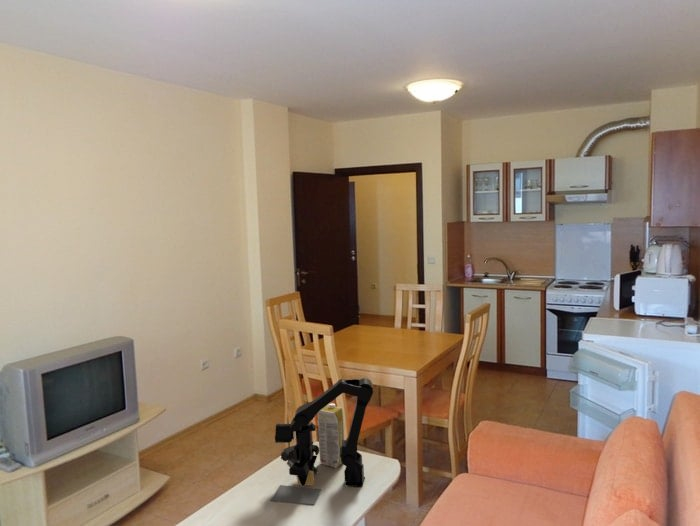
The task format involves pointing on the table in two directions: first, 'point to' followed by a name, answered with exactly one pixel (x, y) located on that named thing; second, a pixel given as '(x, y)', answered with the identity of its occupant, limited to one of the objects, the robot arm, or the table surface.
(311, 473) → the ochre block
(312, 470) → the phone
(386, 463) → the table surface
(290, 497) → the charcoal mat
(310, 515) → the table surface
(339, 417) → the juice carton
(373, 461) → the table surface
